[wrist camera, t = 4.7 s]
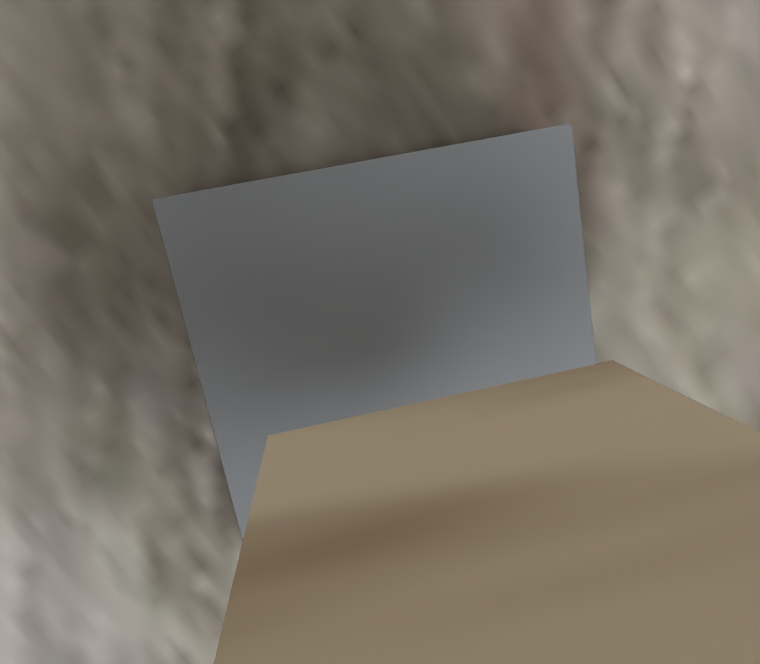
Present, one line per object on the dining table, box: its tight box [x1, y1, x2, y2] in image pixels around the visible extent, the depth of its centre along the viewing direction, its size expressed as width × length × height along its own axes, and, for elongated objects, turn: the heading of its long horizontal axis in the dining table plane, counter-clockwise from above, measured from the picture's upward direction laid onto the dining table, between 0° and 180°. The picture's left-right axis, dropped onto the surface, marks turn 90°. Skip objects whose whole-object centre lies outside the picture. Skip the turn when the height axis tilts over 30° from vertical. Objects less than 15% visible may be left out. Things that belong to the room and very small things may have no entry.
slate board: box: [152, 123, 596, 539], centre depth 18 cm, size 12×12×3 cm
